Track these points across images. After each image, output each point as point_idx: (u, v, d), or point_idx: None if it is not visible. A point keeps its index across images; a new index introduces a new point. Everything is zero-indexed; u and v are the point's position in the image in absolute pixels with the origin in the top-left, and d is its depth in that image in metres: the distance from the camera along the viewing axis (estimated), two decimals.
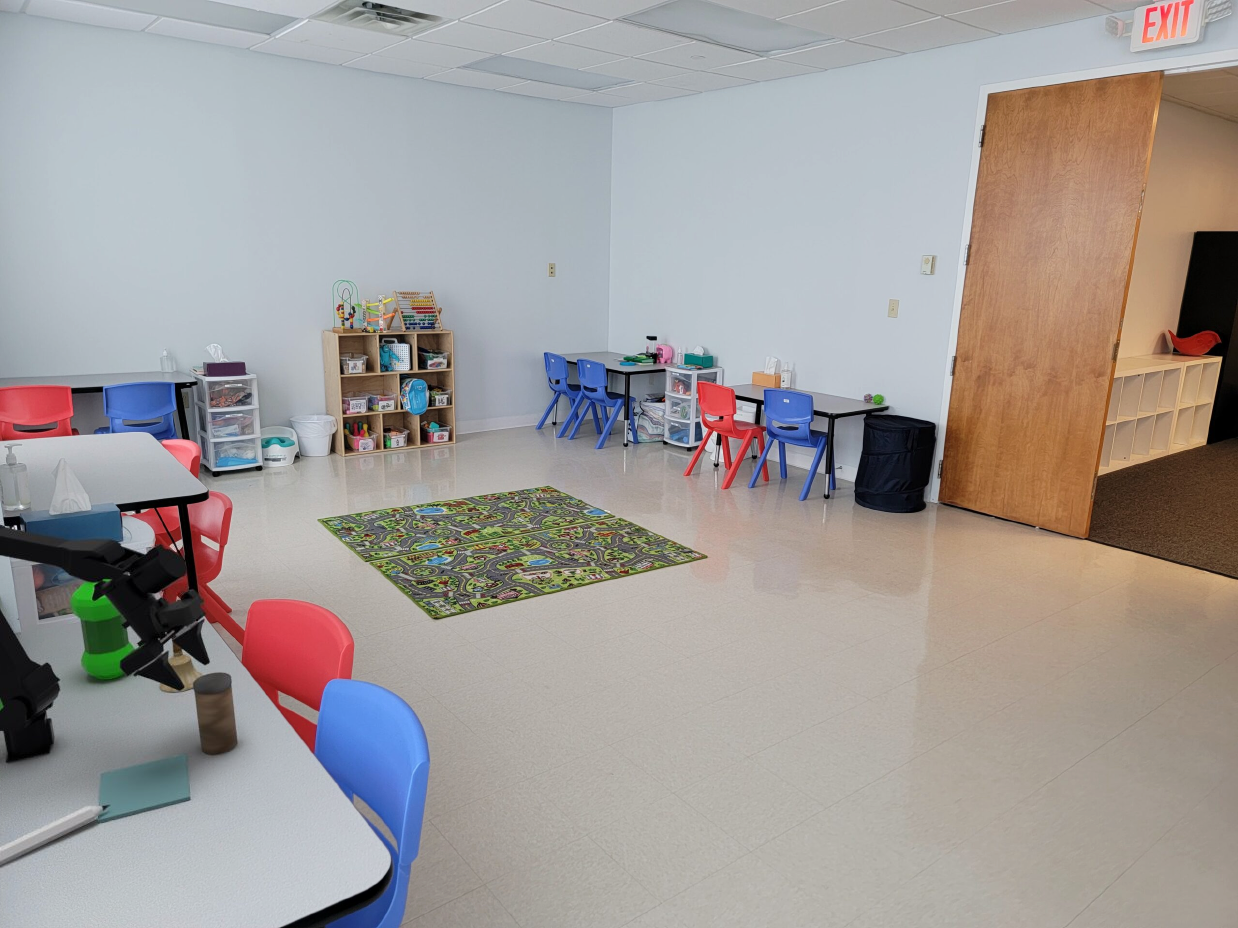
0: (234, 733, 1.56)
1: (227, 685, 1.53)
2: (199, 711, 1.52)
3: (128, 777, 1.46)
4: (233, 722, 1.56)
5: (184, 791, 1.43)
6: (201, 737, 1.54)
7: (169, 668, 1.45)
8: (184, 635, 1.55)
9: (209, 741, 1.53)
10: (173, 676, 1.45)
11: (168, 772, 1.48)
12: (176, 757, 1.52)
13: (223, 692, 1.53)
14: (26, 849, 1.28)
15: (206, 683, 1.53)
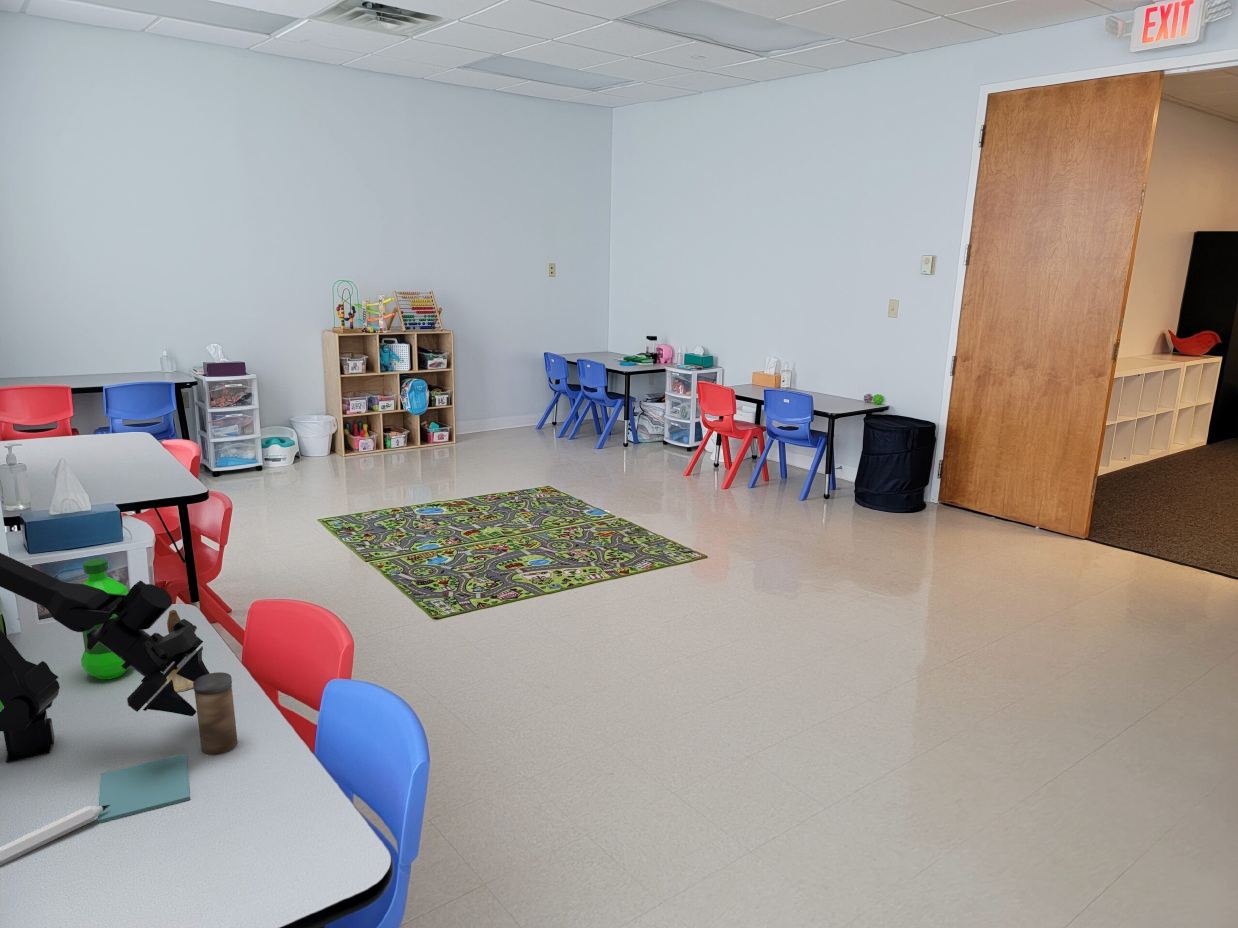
0: (234, 733, 1.56)
1: (227, 685, 1.53)
2: (200, 711, 1.52)
3: (128, 777, 1.46)
4: (233, 722, 1.56)
5: (184, 791, 1.43)
6: (201, 737, 1.54)
7: (177, 696, 1.48)
8: (186, 665, 1.58)
9: (209, 741, 1.53)
10: (182, 703, 1.48)
11: (168, 772, 1.48)
12: (176, 757, 1.52)
13: (224, 692, 1.52)
14: (26, 849, 1.28)
15: (206, 683, 1.53)
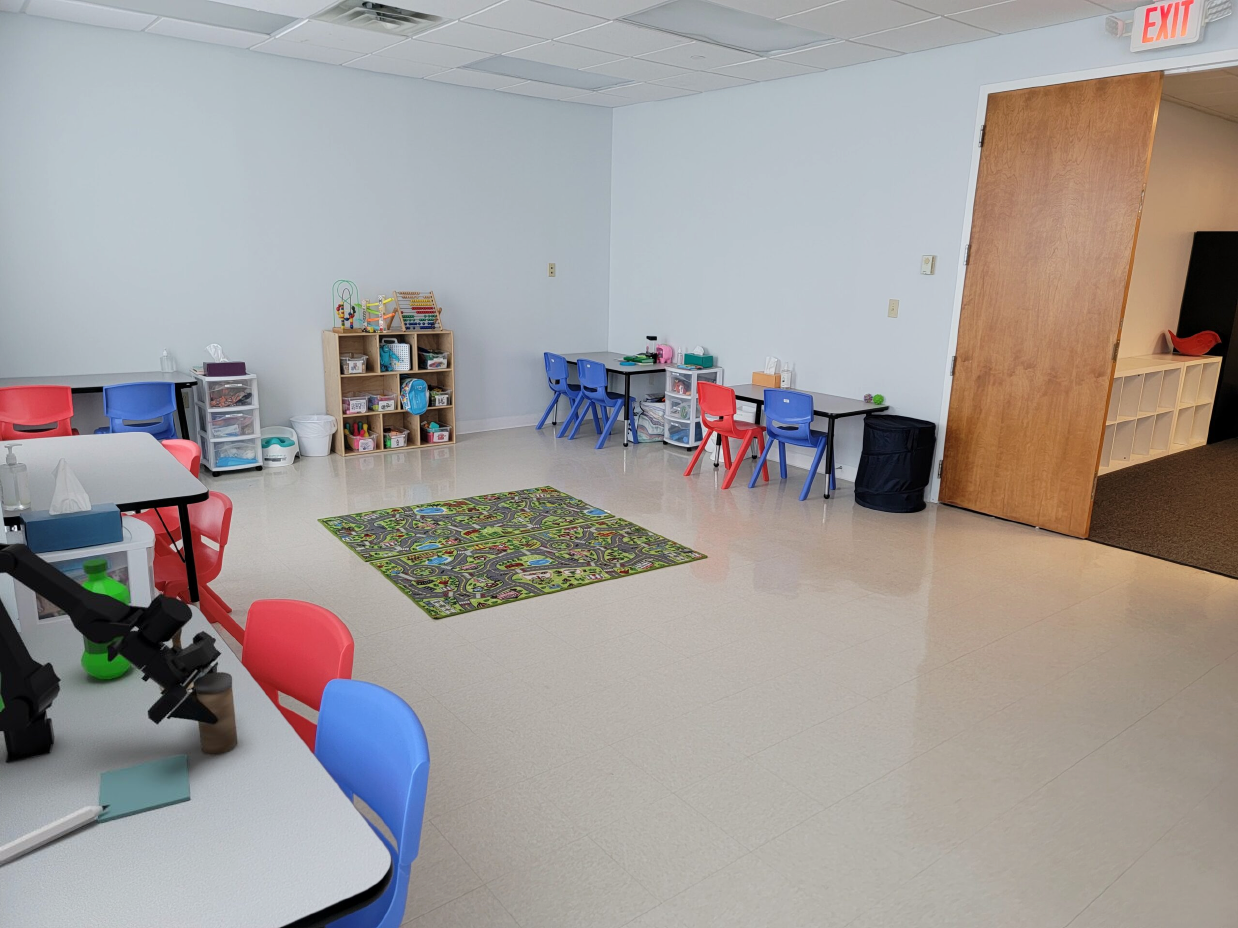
0: (234, 733, 1.56)
1: (227, 685, 1.53)
2: None
3: (128, 777, 1.46)
4: (233, 722, 1.56)
5: (184, 791, 1.43)
6: (201, 737, 1.54)
7: (200, 704, 1.50)
8: None
9: (209, 741, 1.53)
10: (205, 711, 1.50)
11: (168, 772, 1.48)
12: (176, 757, 1.52)
13: (224, 692, 1.53)
14: (26, 849, 1.28)
15: (207, 683, 1.53)
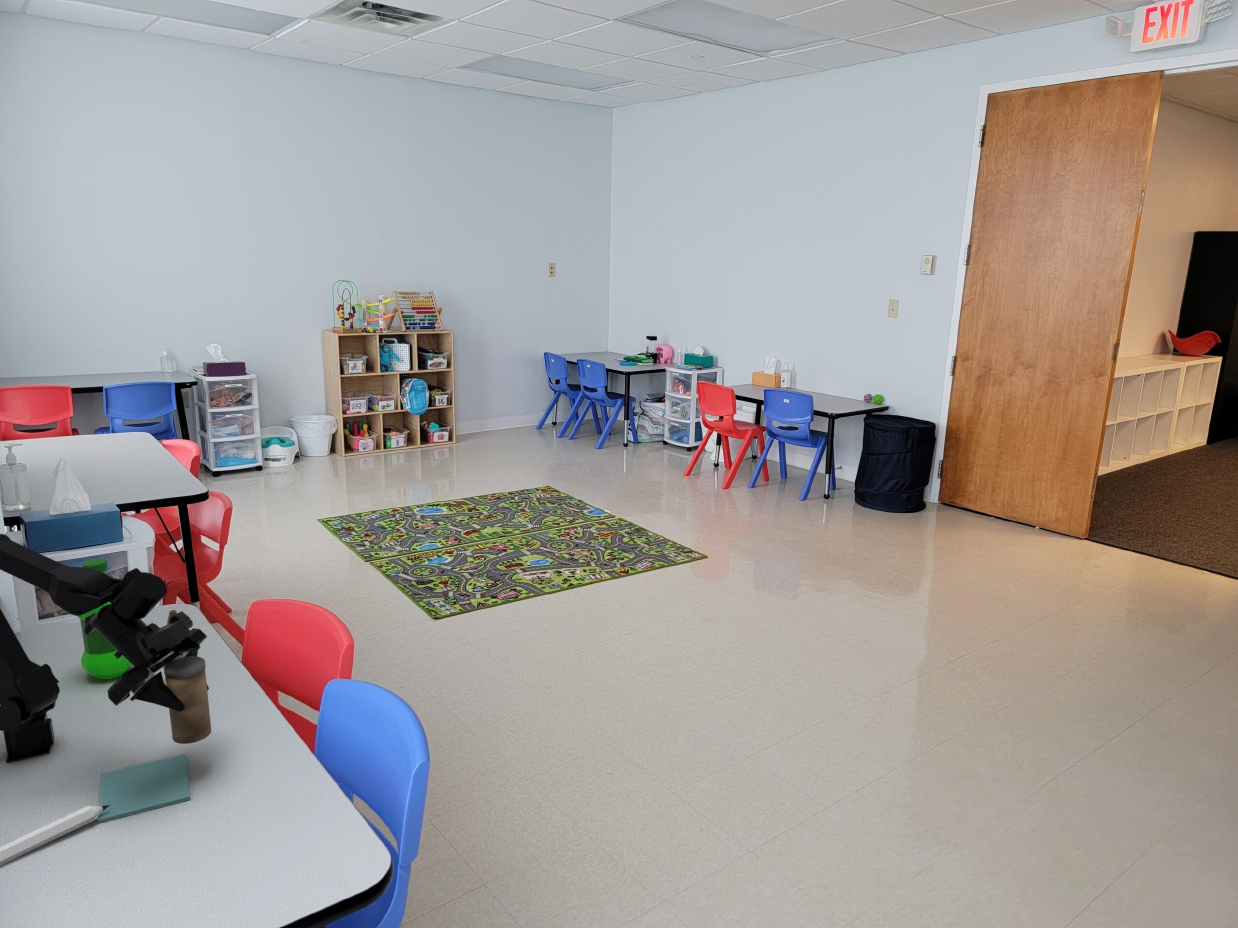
0: (205, 723, 1.47)
1: (197, 671, 1.43)
2: None
3: (128, 777, 1.46)
4: (204, 711, 1.46)
5: (184, 791, 1.43)
6: (171, 723, 1.45)
7: (165, 689, 1.42)
8: None
9: (176, 728, 1.44)
10: (170, 697, 1.42)
11: (168, 772, 1.48)
12: (176, 757, 1.52)
13: (192, 679, 1.43)
14: (26, 849, 1.28)
15: (177, 667, 1.44)
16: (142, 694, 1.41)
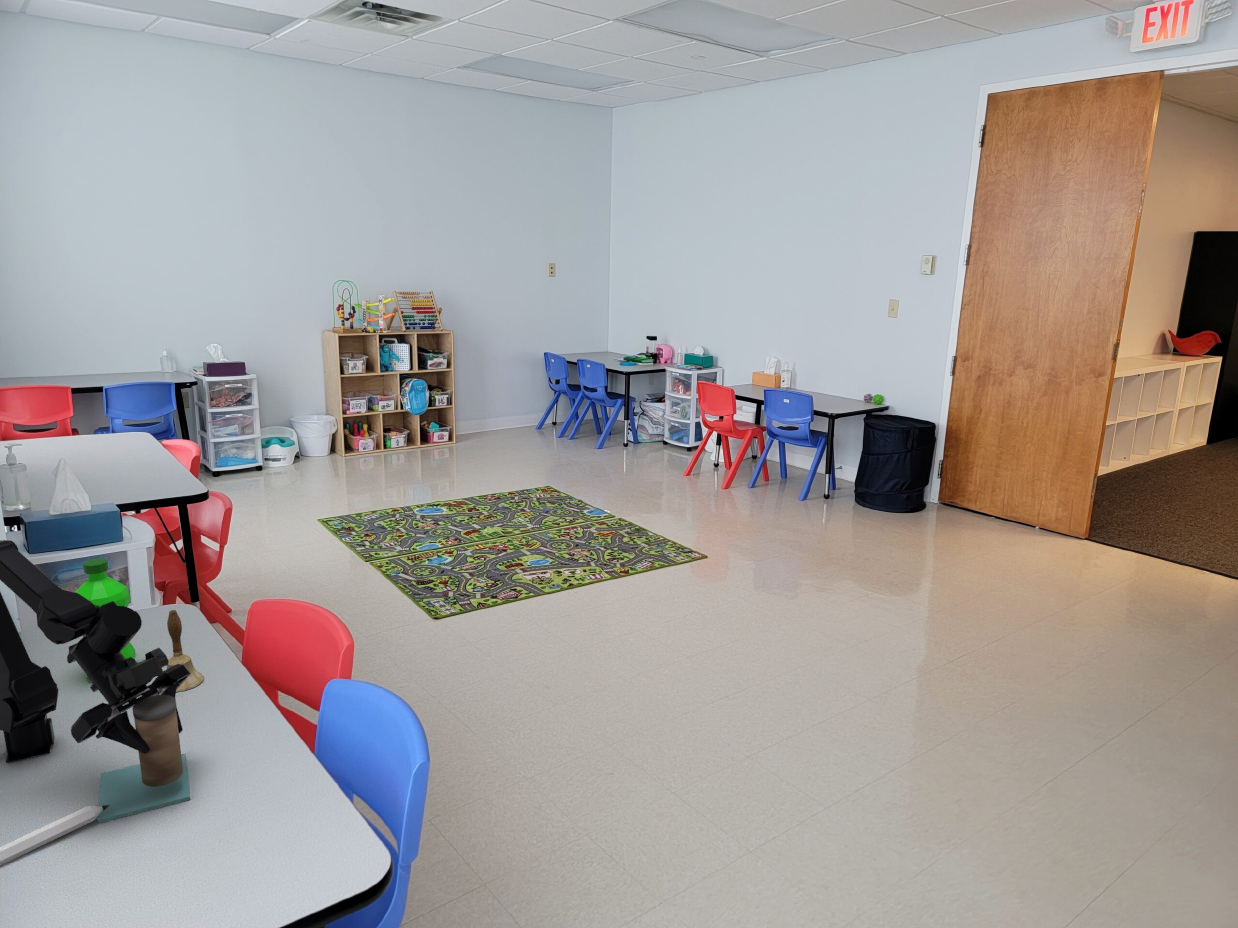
0: (173, 766, 1.41)
1: (163, 714, 1.38)
2: None
3: (128, 777, 1.46)
4: (172, 754, 1.40)
5: (184, 791, 1.43)
6: None
7: (130, 729, 1.37)
8: None
9: (143, 770, 1.39)
10: (134, 738, 1.36)
11: None
12: None
13: (158, 721, 1.37)
14: (26, 849, 1.28)
15: (146, 706, 1.39)
16: (108, 732, 1.37)
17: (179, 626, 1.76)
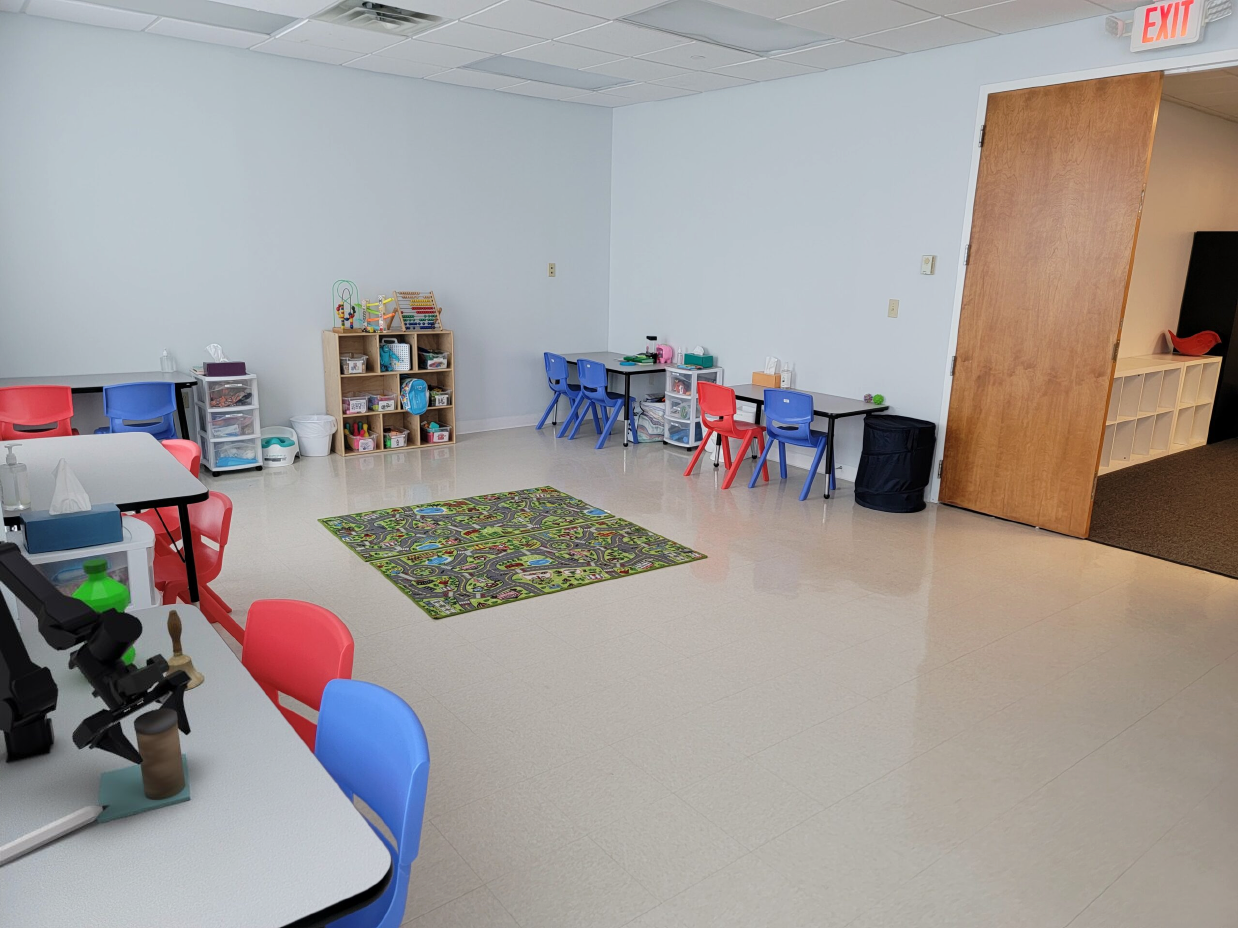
0: (175, 779, 1.41)
1: (164, 727, 1.38)
2: (138, 749, 1.39)
3: (128, 777, 1.46)
4: (174, 767, 1.41)
5: (184, 791, 1.43)
6: None
7: (124, 740, 1.36)
8: (166, 702, 1.46)
9: (145, 783, 1.40)
10: (127, 749, 1.35)
11: None
12: None
13: (159, 735, 1.38)
14: (26, 849, 1.28)
15: (147, 720, 1.39)
16: (101, 743, 1.36)
17: (179, 626, 1.76)
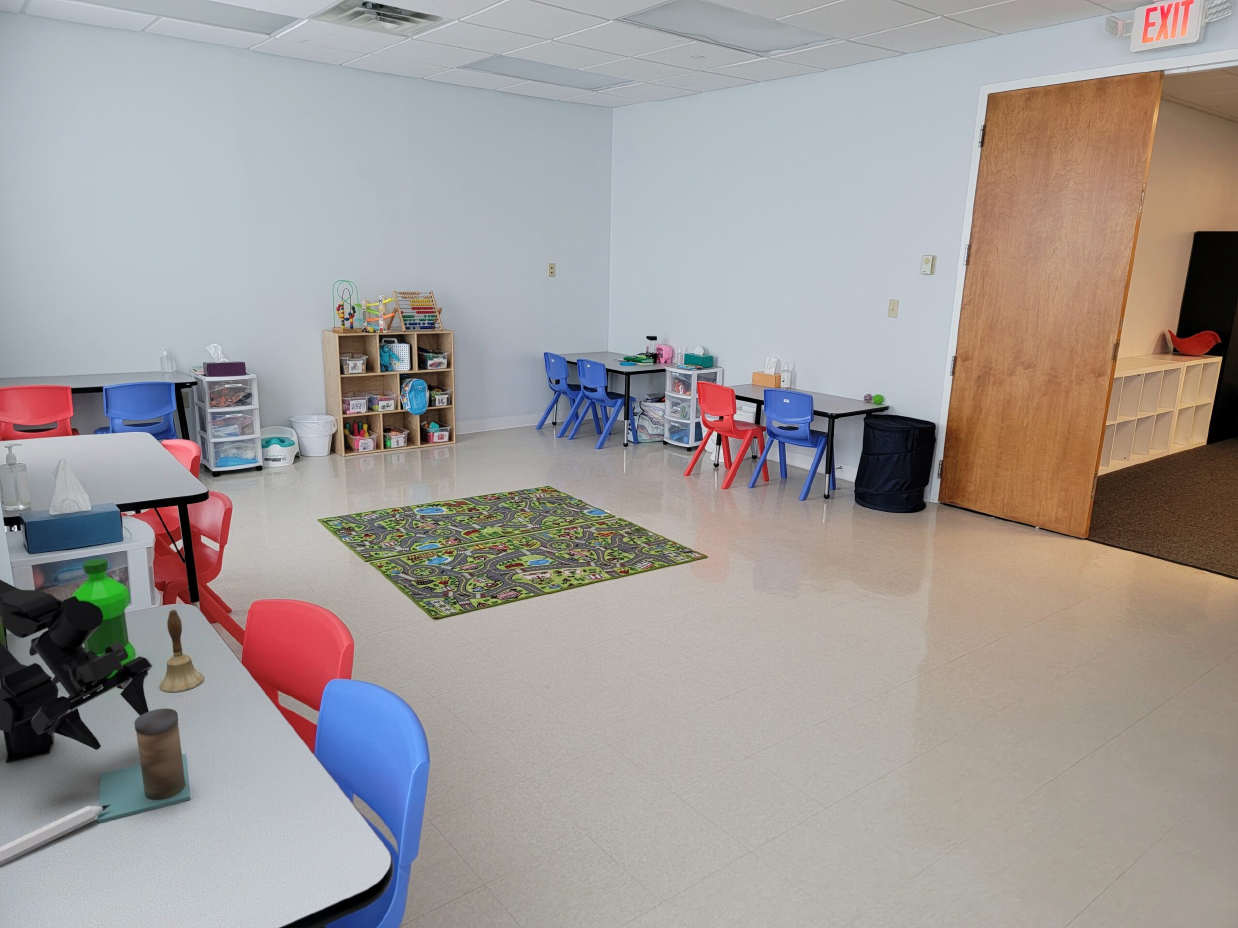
0: (175, 780, 1.41)
1: (165, 727, 1.38)
2: None
3: (128, 777, 1.46)
4: (174, 768, 1.41)
5: (184, 791, 1.43)
6: (142, 776, 1.41)
7: (81, 726, 1.39)
8: (127, 689, 1.49)
9: (146, 784, 1.40)
10: (85, 735, 1.39)
11: None
12: None
13: (160, 735, 1.38)
14: (26, 849, 1.28)
15: (148, 720, 1.39)
16: (60, 728, 1.40)
17: (179, 626, 1.76)
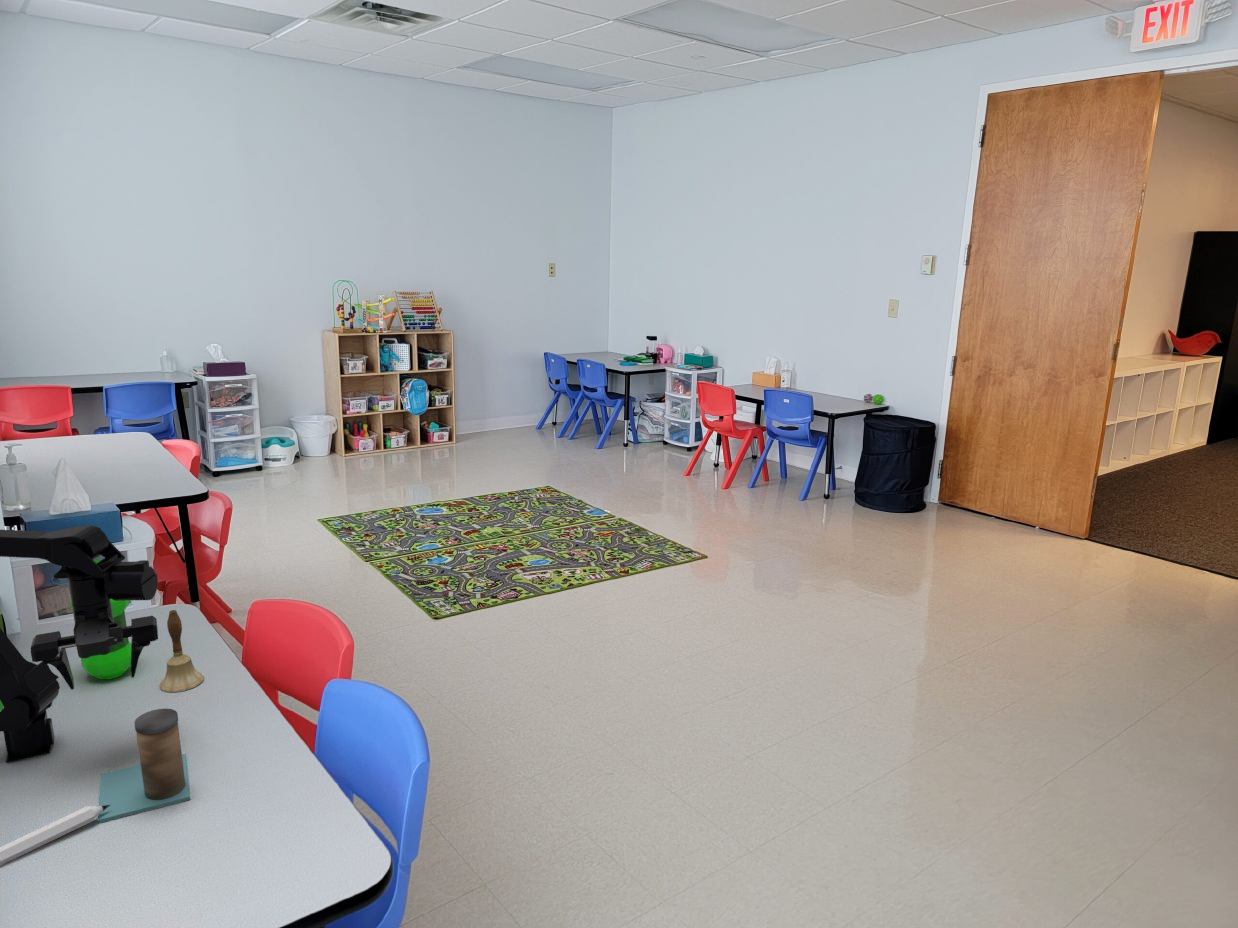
0: (175, 780, 1.41)
1: (165, 727, 1.38)
2: None
3: (128, 777, 1.46)
4: (174, 768, 1.41)
5: (184, 791, 1.43)
6: (142, 776, 1.41)
7: (63, 669, 1.48)
8: (131, 641, 1.54)
9: (146, 784, 1.40)
10: (63, 677, 1.48)
11: None
12: None
13: (160, 735, 1.38)
14: (26, 849, 1.28)
15: (148, 720, 1.39)
16: None
17: (179, 626, 1.76)
